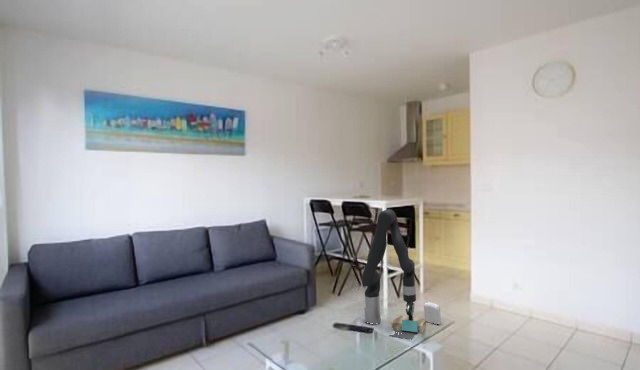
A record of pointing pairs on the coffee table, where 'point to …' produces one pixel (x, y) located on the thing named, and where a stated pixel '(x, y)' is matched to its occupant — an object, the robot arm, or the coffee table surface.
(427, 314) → the photo printer
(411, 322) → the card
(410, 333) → the mat
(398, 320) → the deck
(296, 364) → the coffee table surface
